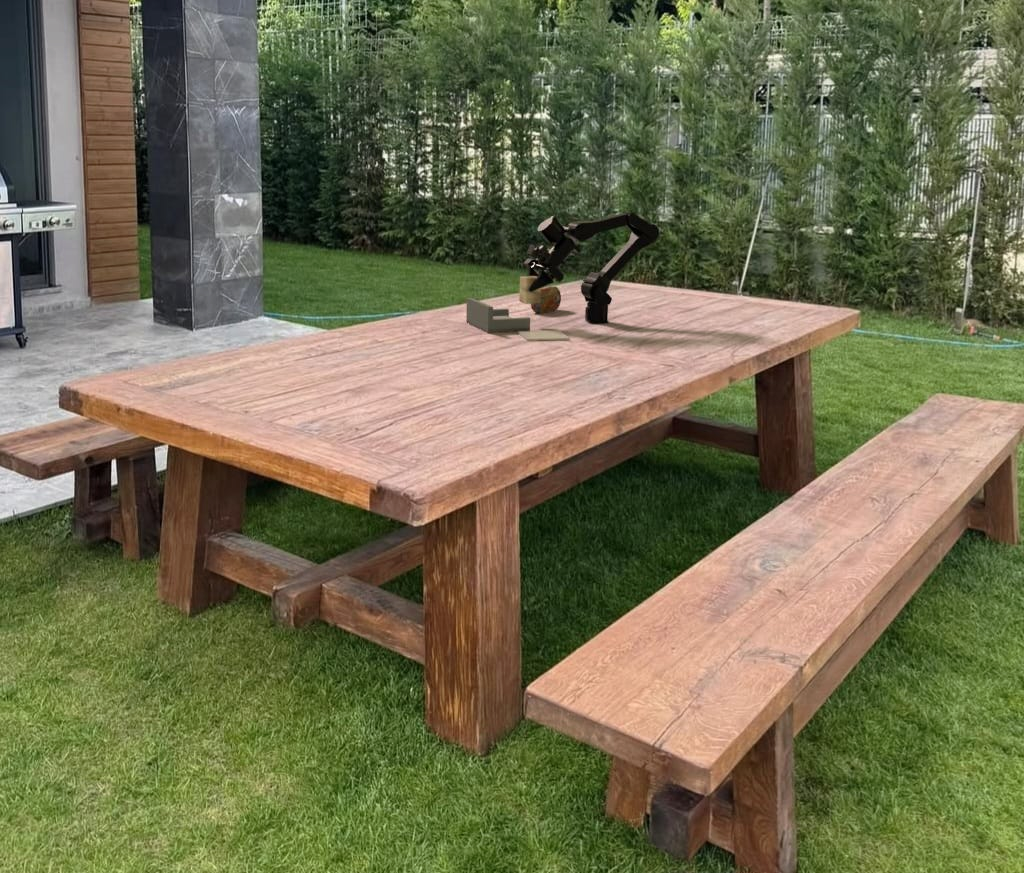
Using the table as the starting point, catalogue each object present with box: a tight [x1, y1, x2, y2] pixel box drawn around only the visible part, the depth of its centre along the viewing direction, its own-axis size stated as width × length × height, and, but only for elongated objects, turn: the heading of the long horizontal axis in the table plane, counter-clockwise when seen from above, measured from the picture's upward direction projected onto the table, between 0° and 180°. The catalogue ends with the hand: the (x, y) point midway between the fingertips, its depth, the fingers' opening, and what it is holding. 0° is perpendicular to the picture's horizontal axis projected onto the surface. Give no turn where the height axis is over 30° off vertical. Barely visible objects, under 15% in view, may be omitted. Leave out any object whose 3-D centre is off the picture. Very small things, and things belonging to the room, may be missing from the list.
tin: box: [530, 286, 562, 314], centre depth 380 cm, size 15×3×8 cm, turn 143°
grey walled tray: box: [465, 297, 531, 334], centre depth 349 cm, size 14×19×8 cm
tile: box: [517, 330, 571, 342], centre depth 335 cm, size 13×13×1 cm
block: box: [518, 275, 542, 305], centre depth 350 cm, size 5×5×8 cm
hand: (526, 289), depth 349 cm, fingers closed on block, 5 cm apart
